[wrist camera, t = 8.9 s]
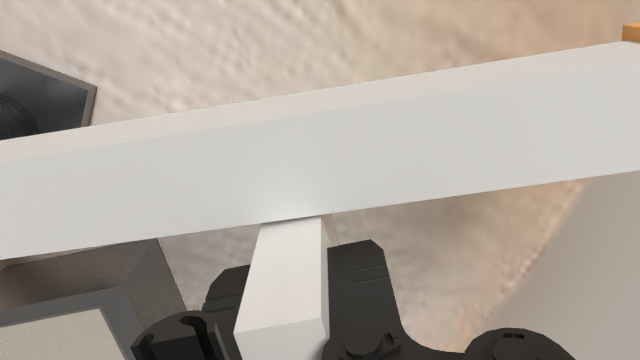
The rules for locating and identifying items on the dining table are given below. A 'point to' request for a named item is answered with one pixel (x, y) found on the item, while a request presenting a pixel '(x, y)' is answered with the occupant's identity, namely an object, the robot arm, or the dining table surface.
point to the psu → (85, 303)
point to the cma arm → (326, 150)
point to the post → (40, 99)
